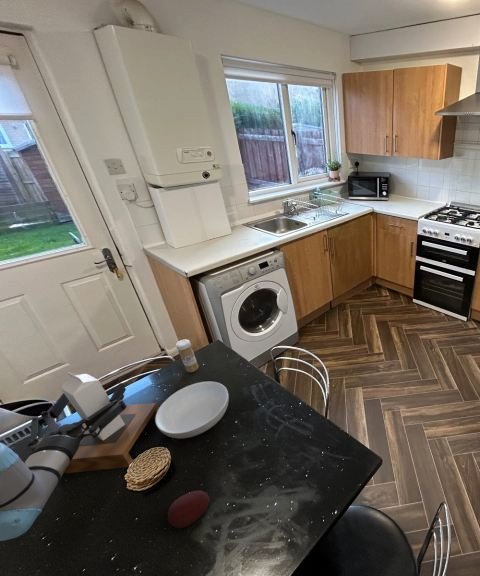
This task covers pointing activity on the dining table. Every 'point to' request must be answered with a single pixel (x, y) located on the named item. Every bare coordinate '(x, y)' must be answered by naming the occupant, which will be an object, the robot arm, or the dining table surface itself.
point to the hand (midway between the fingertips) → (95, 391)
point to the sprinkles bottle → (187, 355)
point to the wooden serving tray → (113, 442)
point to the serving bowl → (192, 410)
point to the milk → (89, 400)
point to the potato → (188, 509)
